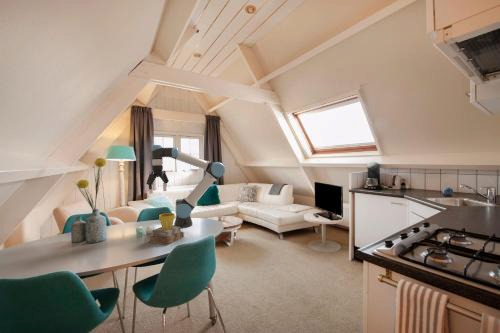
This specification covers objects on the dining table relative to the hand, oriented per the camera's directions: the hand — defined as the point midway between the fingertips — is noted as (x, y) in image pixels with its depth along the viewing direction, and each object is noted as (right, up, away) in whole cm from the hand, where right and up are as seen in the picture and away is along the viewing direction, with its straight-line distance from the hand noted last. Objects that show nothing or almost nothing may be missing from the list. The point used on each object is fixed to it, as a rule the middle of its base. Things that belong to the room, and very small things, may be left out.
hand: (158, 192), depth 172 cm
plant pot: (+13, -24, -15) cm, 31 cm away
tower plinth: (+12, -32, -15) cm, 37 cm away
